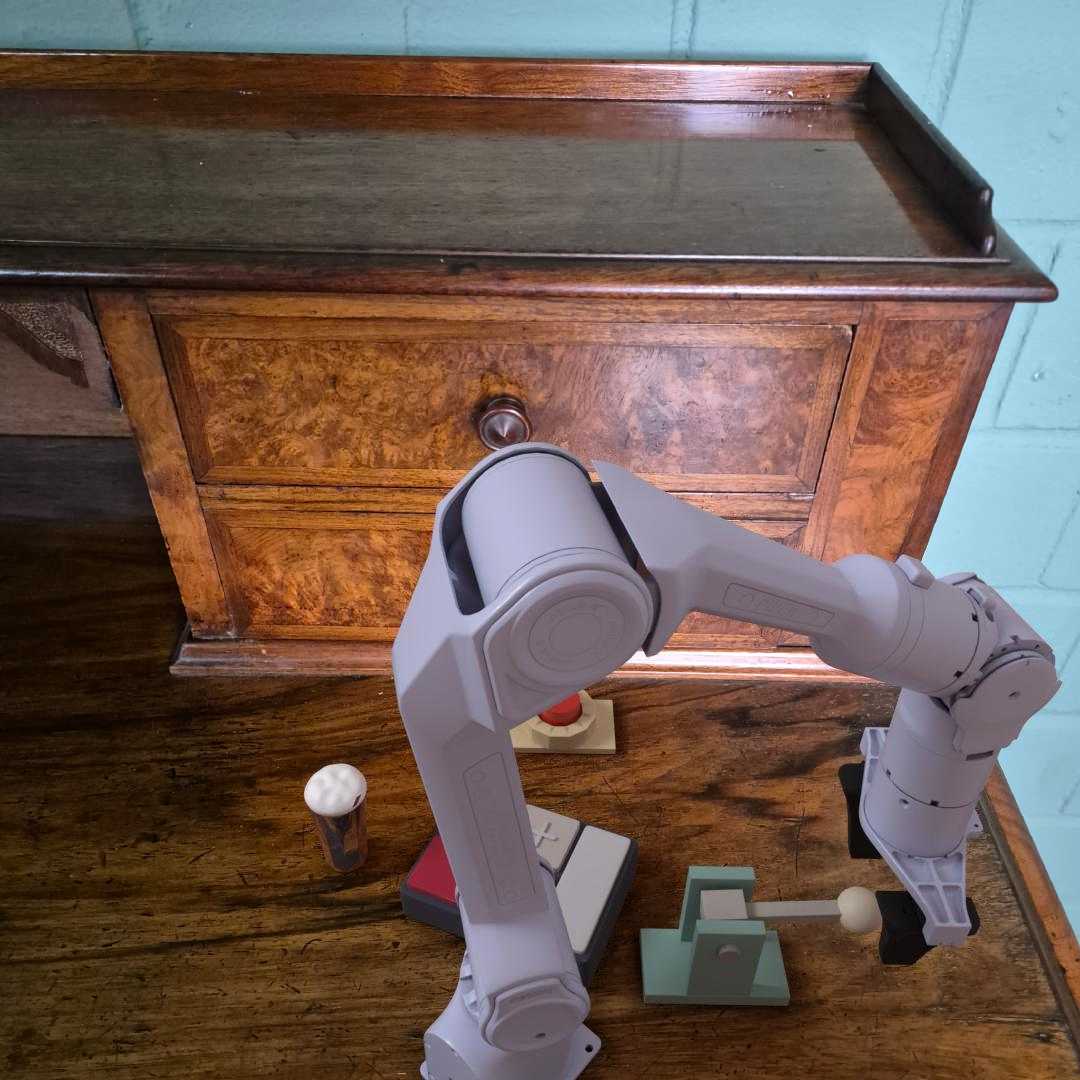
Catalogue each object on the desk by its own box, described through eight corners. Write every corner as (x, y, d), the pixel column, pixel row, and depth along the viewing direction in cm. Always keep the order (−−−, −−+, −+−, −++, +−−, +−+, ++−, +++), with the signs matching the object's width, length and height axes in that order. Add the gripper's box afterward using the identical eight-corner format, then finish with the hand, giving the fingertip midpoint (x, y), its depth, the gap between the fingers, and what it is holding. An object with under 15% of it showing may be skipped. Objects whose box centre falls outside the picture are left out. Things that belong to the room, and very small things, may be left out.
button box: (615, 756, 84) (617, 737, 82) (502, 754, 84) (501, 735, 82) (611, 703, 89) (613, 683, 88) (505, 701, 89) (505, 682, 88)
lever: (872, 902, 65) (878, 876, 64) (885, 943, 63) (891, 917, 61) (699, 907, 66) (700, 882, 64) (704, 948, 63) (706, 923, 62)
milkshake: (349, 897, 72) (333, 814, 66) (306, 856, 75) (288, 773, 69) (395, 860, 75) (383, 776, 69) (352, 821, 78) (338, 738, 72)
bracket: (773, 933, 70) (793, 861, 65) (789, 1013, 65) (812, 942, 60) (638, 930, 70) (647, 858, 65) (644, 1011, 65) (655, 939, 60)
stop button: (579, 727, 84) (580, 713, 83) (538, 726, 84) (539, 712, 83) (578, 697, 87) (579, 683, 86) (539, 697, 87) (539, 683, 86)
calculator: (464, 775, 77) (639, 832, 72) (468, 810, 80) (638, 867, 74) (394, 884, 69) (587, 957, 64) (402, 919, 71) (587, 992, 66)
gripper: (1054, 879, 49) (980, 1014, 57) (957, 680, 61) (907, 815, 69) (917, 877, 49) (862, 1012, 57) (847, 678, 61) (809, 813, 69)
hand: (879, 904), depth 63 cm, fingers open, 7 cm apart
